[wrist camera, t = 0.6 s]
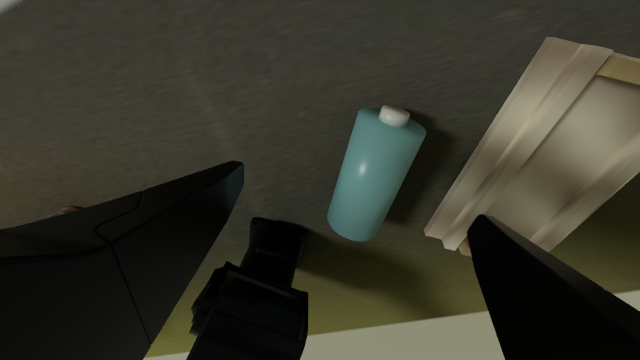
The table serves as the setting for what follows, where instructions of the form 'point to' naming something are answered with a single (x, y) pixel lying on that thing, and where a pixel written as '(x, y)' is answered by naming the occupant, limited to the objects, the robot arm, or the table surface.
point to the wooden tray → (550, 148)
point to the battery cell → (373, 170)
